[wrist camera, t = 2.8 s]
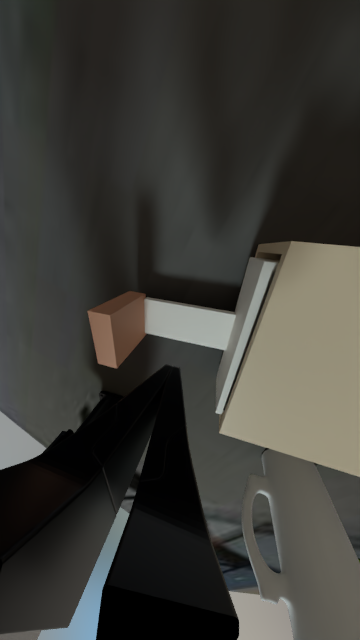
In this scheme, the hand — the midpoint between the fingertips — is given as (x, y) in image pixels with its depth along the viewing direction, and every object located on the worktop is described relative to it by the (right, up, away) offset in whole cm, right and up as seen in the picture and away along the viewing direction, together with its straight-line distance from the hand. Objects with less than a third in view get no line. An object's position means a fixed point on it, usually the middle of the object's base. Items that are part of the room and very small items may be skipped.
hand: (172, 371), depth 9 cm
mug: (+14, -16, +13) cm, 25 cm away
